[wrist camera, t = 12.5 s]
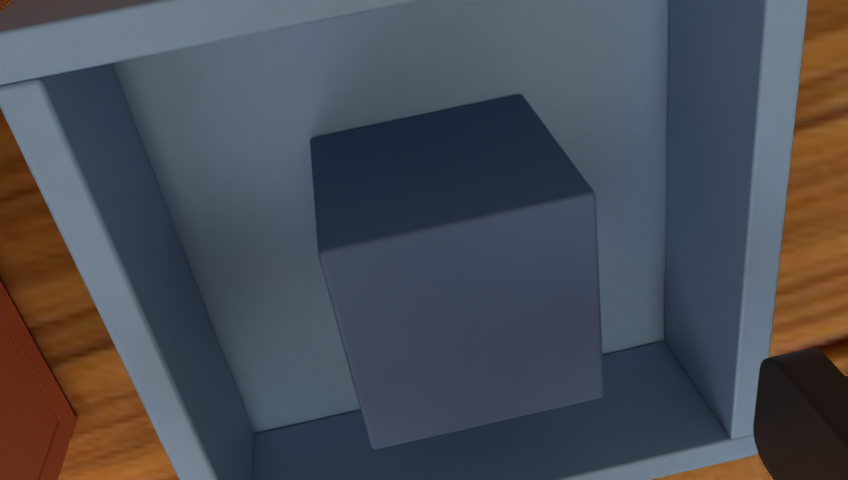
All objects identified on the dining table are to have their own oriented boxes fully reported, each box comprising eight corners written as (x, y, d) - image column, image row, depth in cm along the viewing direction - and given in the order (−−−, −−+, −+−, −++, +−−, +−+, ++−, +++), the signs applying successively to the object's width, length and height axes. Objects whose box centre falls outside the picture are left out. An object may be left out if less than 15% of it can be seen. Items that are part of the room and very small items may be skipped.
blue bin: (46, -31, 16) (-37, 38, 12) (690, -156, 16) (824, -131, 12) (236, 438, 23) (226, 581, 19) (677, 337, 24) (759, 455, 20)
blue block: (308, 136, 18) (317, 252, 13) (522, 92, 18) (597, 192, 14) (353, 310, 20) (372, 452, 16) (539, 269, 20) (605, 398, 16)
